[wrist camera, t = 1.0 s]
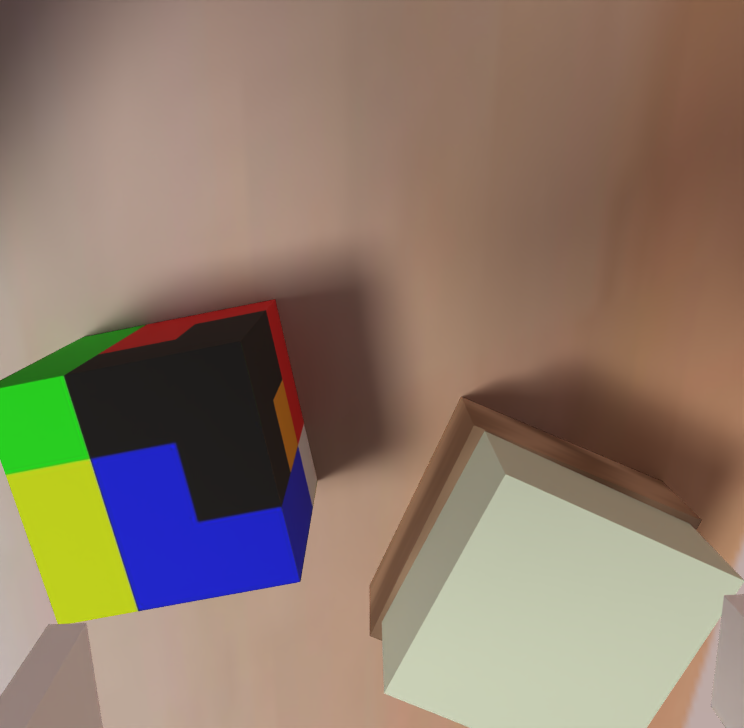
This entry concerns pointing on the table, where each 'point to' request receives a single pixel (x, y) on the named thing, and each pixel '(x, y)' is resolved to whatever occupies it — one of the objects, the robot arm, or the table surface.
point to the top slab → (549, 601)
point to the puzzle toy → (161, 463)
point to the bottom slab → (450, 465)
